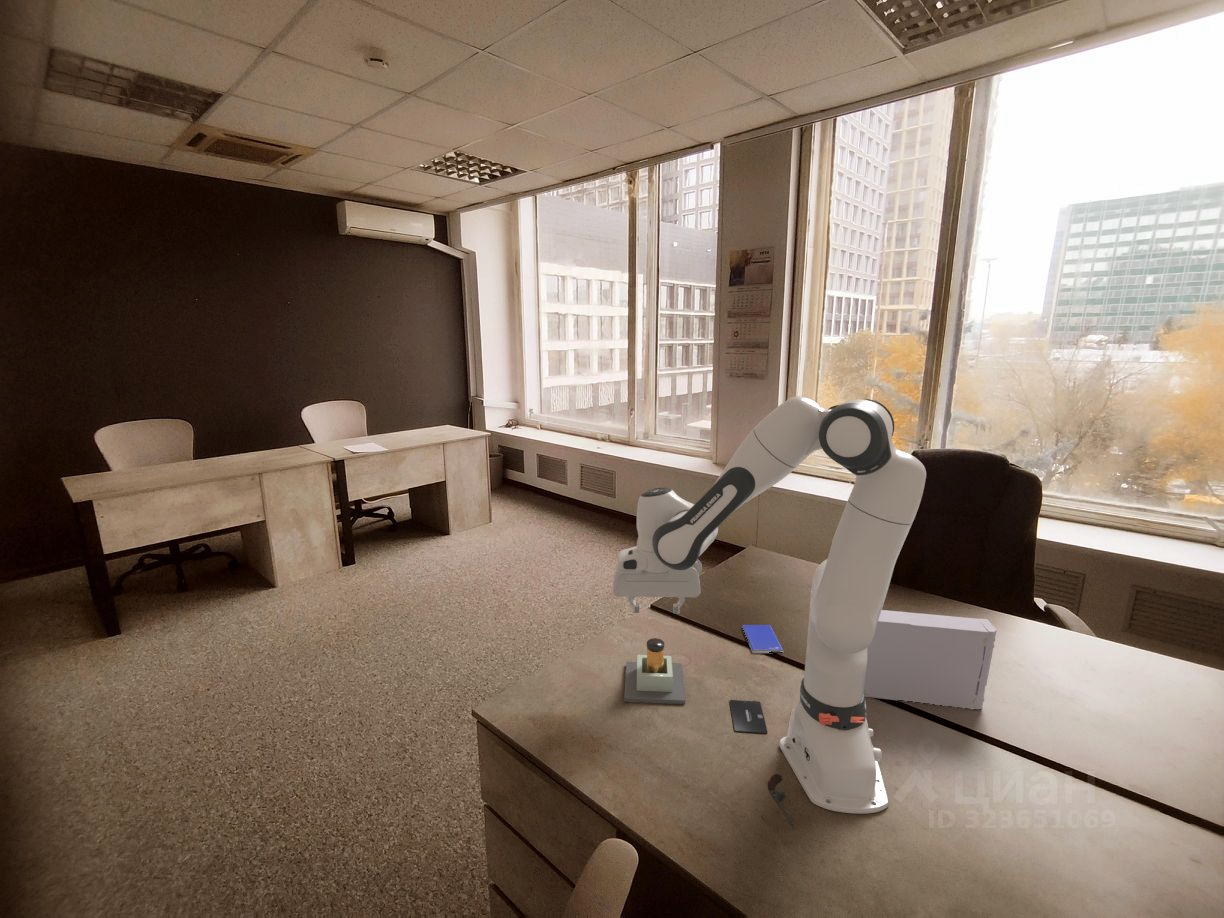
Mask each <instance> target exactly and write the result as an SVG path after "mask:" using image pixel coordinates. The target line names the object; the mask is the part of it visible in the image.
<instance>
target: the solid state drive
mask: <svg viewBox="0 0 1224 918" xmlns="http://www.w3.org/2000/svg"><path fill="white" fill-rule="evenodd" d="M729 707H730V712H731V719H732V725H733V731H734V732H735V733H743V734H744V733H745V734H746V733H747V734H761V735H767V734H768V728H767V724H766V720H765V716H764V712H763V708H762V703H761V701H757V700H756V701H755V700H740V699H739V700H738V699H737V700H736V699H730V700H729Z"/></svg>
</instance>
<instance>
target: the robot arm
mask: <svg viewBox="0 0 1224 918" xmlns="http://www.w3.org/2000/svg"><path fill="white" fill-rule="evenodd" d="M894 433H895V420H894V418H893V415H892V413H891V411H890V410H889V409H888V407H886V405H884V404H883V403H880V401H879V402H878V401H877V400H874V399H869V398H858V399H857V398H856V399H850V400H847V401H845V402H842V403H840V404H836V405H833V406H830V407H829V408H827V409H826V408H824V407H822V406H821V405H820V404H819V403H817V402H816V401H814V400H812V399H811V398H808V397H805V396H801V395H798V396H792V397H789V398H788V399H786V401H784V402H782V403H780V405H779V406H777V407H776V408H773V410H772V411H771V412H769V414H767V415H766V416H765V417H764V418H763V419H761V420H760V421H759V422H758V424H757V425H756V426H755V427H754V428H753V429H752V430H751V431H750V432H749V433H748V434H747V436H746V437H745V438H744V439H743V440H742V442H741V443H740V445H739V446H738V448H737V449H736V451H735V452H734V453H733V455H732V457H731V458H730V459H729V461H728V463H727V464H726V466H725V468H724V469H723V470H722V472H721V474H720V475H719V476H718V478H717V479H716V480H715V482H714V483H713V484H712V486H710V488H709V489H708V490H707V491H706V492H705V494H703V495H702V496H701V497H700V498H699V499H698V500H697V501H696V502H695V503H692V502H690V501H687V500H685V499H684V498H682V497H680V496H679V495H678V494H677V492H675V491H674V490H673V489H672V488H668V487H657V488H652V489H649V490H646V491H644V492H643V493H642V494H640V496H639V498H638V500H637V506H636V507H637V508H636V509H637V510H636V531H637V535H638V537H637V540H636V545H635V546H631V547H629V548H625V549H622V550H620V551H619V553H618V555H617V564H616V566H615V568H614V574H613V580H612V593H613V595H614V596H616V597H618V598H619V597H625V598H626V597H627V601H628V602H629V603H630V605H631V607H632V613H634V614H639V613H640V603H639V602H636V600H635V597H636V598H638V597H639V598H647V597H648V598H651V597H652V598H678V601H677V602H676V603H673V605H672V606H673V608H672V612H673V614H681V607H682V606H683V605H684V603H685V601H686V598H698V597H699V596H700V595H701V583H700V582H701V581H700V575H701V574H702V571H703V564H702V562H701V561H700V560H699V558H700V556H702V554H703V553H704V552H705V551H706V550H707V549H708V548H709V546H711V544H712V543H714V541H715V539H716V538H717V537H718V534H719V527H720V525H721V524H723V522H724V521H725V520H727V518H728V517H729V516H731V514H733V513H734V512H736V510H738V509H739V508H740V507H742V506H743V505H745V504H746V503H748V502H749V501H751V500H752V499H753V498H756V497H757V496H759V495H761V494H762V493H764V492H765V491H767V490H769V489H770V488H771V487H773V486H775V485H776V484H778V483H779V482H781V481H782V480H783V479H785V478H786V477H787V476H788V475H790V474H791V473H792V472H793V471H794V470H795V469H797V467H799V465H800V464H802V463H803V462H804V461H805V459H807V458H808V457H810V455H812V454H813V453H815V452H816V451H819V450H822V451H823V452H824V453H825V454H826V456H827V457H829V458H830V460H832V461H833V462H836V463H837V464H838V465H841V467H843V468H845V469H846V470H847V471H848V472H850V473H851V474H853V475H855V481H854V484H853V487H852V489H851V492H850V494H849V497H848V499H847V502H846V504H845V506H844V510H843V511H842V514H841V517H840V520H839V522H838V525H837V528H836V531H835V533H834V535H833V538H832V542H831V546H830V550H829V553H828V556H827V558H826V559H824V560H823V561H822V562H821V563H820V564H819V565H818V567H817V568H816V570H815V572H814V574H813V576H812V579H811V580H812V581H811V589H810V590H811V591H810V602H809V615H808V625H807V626H808V627H807V641H806V650H805V651H806V652H805V653H806V654H805V663H804V675H803V678H802V679H801V683H800V686H799V687H800V688H799V700H798V703H797V704H796V705H795V706H793V708H792V710H791V712H790V717H789V723H788V728H787V733H786V734H787V735H786V736H784V737H782V738H781V739H780V741H779V744H778V745H779V748H780V750H781V751H782V754H783V755H784V757H785V759H786V761H787V762H788V765H790V767H791V769H792V771H793V773H794V774H795V777H796V778H797V780H798V782H799V783H800V785H801V787H802V788H803V790H804V792H805V794H806V795H807V797H808V799H809V801H810V802H811V803H812V804H814V805H816V806H818V807H821V808H822V809H825V810H829V811H833V812H838V813H846V814H859V815H860V814H863V815H865V814H872V813H878V812H881V811H884V810H885V809H887V808H888V806H889V798H888V795H887V791H886V787H885V783H884V779H883V776H882V773H881V772H882V771H881V769H880V764H879V762H882V756H883V755H882V754H883V753H882V750H881V748H879V747H874V745H873V744H872V739H871V737H874V729H873V728H870V727H869V724H868V720H867V712H866V711H867V704H866V696H865V695H864V684H865V676H866V668H867V650H868V646H869V645H870V643H871V642H872V640H873V638H874V634H875V630H876V626H877V623H878V619H879V616H880V613H881V610H883V607H884V603H885V601H886V598H887V594H888V591H889V587H890V583H891V579H892V577H893V573H894V570H895V569H894V568H895V565H896V563H897V560H898V558H899V556H900V552H901V550H902V548H903V545H904V543H905V541H906V539H907V536H908V534H909V532H910V529H911V528H912V525H913V522H914V520H915V519H916V517H917V516H916V515H917V512H918V510H919V507H920V504H921V501H922V498H923V494H924V489H925V484H926V479H927V471H926V466H925V465H924V464H923V463H922V462H921V460H919V459H918V458H917V457H916V456H913V455H912V454H911V453H909V452H906V451H903V450H900V449H898V448H897V447H896V446H895V444H894V442H893V436H894Z"/></svg>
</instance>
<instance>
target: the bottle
mask: <svg viewBox="0 0 1224 918" xmlns="http://www.w3.org/2000/svg"><path fill="white" fill-rule="evenodd" d="M664 654H665V642H664V640H662V639H660V638H658V637H657V638H656V637H655V638H654V637H653V638H652V637H651V638H649V639H648V640H647V641H646V655H647V673H663V664H664V656H665V655H664Z"/></svg>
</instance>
